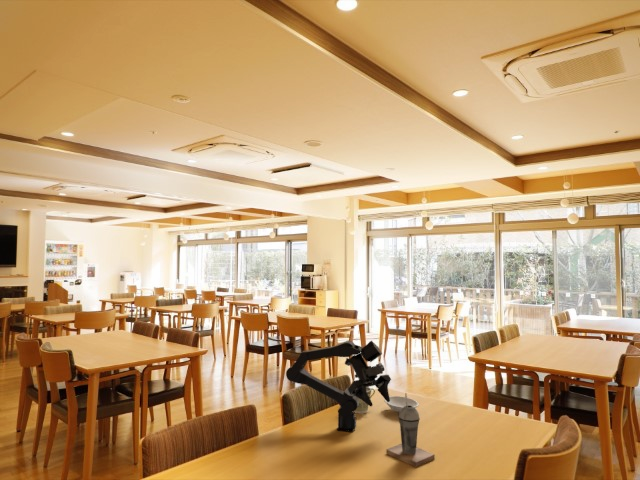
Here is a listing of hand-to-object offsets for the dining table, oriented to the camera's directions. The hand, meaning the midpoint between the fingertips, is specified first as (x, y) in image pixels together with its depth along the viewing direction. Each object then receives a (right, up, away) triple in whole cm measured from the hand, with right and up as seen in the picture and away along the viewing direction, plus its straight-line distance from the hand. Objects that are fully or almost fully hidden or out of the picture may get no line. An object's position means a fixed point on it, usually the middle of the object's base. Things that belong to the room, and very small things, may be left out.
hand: (380, 403), depth 164 cm
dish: (+14, -16, +31) cm, 37 cm away
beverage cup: (+8, -11, -15) cm, 20 cm away
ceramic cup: (-3, -16, +33) cm, 37 cm away
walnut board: (+8, -13, -14) cm, 21 cm away
